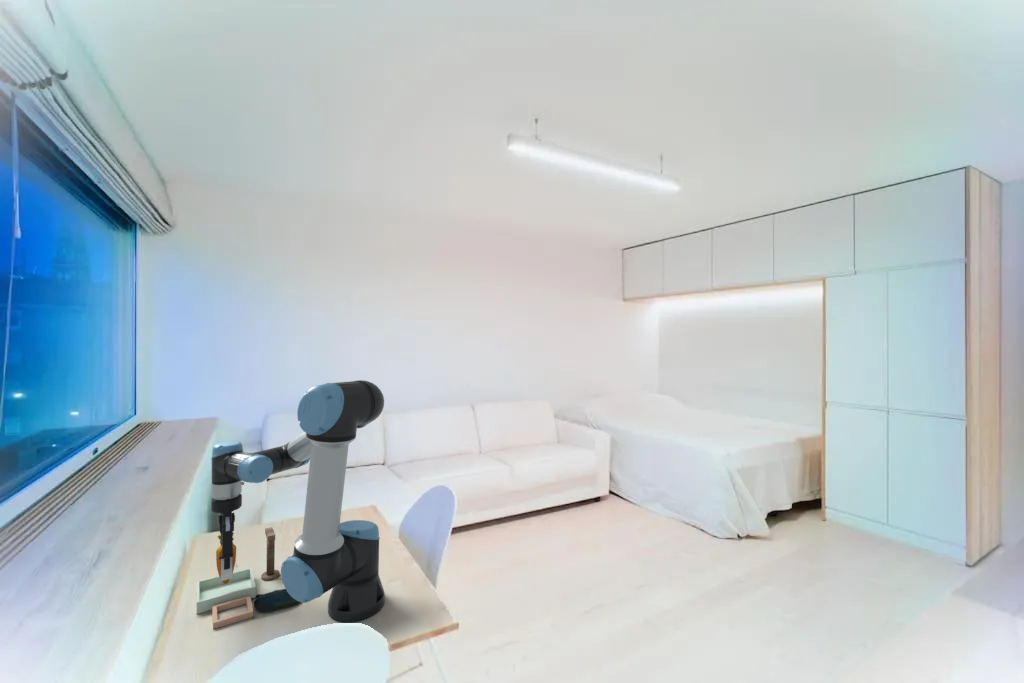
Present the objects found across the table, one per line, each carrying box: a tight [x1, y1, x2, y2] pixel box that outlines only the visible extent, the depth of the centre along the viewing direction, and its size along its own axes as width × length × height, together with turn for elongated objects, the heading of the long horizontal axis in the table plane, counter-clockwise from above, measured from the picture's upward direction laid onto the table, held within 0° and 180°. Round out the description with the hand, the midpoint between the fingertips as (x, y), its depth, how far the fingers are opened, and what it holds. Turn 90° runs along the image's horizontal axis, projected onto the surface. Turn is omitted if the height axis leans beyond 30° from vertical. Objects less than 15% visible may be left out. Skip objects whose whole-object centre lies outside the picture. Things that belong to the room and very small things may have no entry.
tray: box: [196, 567, 257, 615], centre depth 130 cm, size 13×14×3 cm
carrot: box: [215, 532, 237, 584], centre depth 130 cm, size 5×5×15 cm
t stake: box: [260, 526, 280, 582], centre depth 141 cm, size 8×5×14 cm, turn 35°
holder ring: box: [211, 596, 254, 630], centre depth 121 cm, size 9×9×2 cm
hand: (226, 574), depth 130 cm, fingers closed on carrot, 5 cm apart
